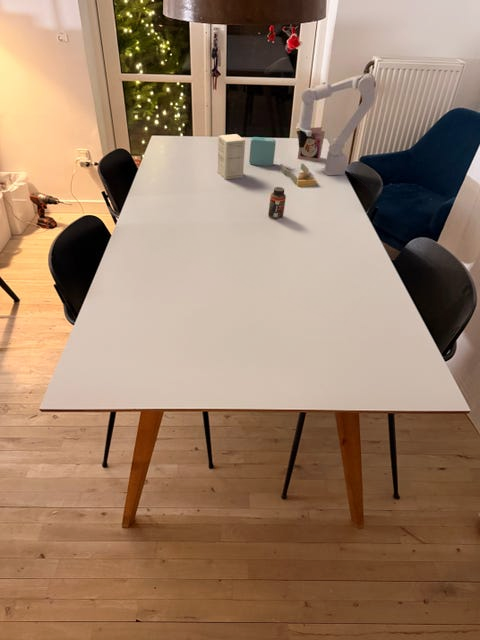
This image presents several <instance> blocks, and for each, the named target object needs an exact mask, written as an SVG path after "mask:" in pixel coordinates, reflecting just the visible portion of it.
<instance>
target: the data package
mask: <svg viewBox="0 0 480 640" xmlns="http://www.w3.org/2000/svg"><path fill="white" fill-rule="evenodd" d="M275 154H276V139H275V138H272V137H259V136H253V137H251V138H250V146H249V156H248V157H249V158H248V159H249V160H248V162H249V164H250V165H254V166H262V165H263V166H262V167H264V166H266V167H272V166H273V165H274V161H275Z"/></svg>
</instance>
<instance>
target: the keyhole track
mask: <svg viewBox="0 0 480 640" xmlns="http://www.w3.org/2000/svg"><path fill="white" fill-rule="evenodd" d="M300 170H301V171H302V172H304V173H308V174H310V180H299V179H298V177H297V176H296V174H295V173H294V172H293V171H292V170H288V169H287V168H286V167H285V165H284V164H282V163H280V164H279V171H280V172H281V173H282V174H283V175H284V176H285V177H288V178H289V179H290V180H291V181H292V182H293V183H294V184H295V186H296V187H309V186H310V187H312V186H315V187H316V186H317V185H316V184H317V179H316V177H314V176H313V175H312V174H311V173H310V172H309V168H308V166H307V165H305V164H304V163H301V164H300Z"/></svg>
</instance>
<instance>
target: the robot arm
mask: <svg viewBox="0 0 480 640" xmlns="http://www.w3.org/2000/svg"><path fill="white" fill-rule="evenodd" d="M376 87H377V82H376V79H375V76H374V74H372V73H370V72H368V73H367V72H366V73H364V74H360V75H355V76H352V77H351V76H350V77H348V78H345V79H343V80H340V81H337V82H334V83H330V82H326V81H323V82H322V83H321V84H318V85H313V86H311V87H308V88H306V89H305V90H304V91H303V92H302V94H301V106H300V113H299V119H298V120H299V121H298V122H297V123H296V126H295V129H296V134H297V141H298V148H299V147H300V148H304V146H305V143H306V141H307V139H308V137H309V136H311V135H312V132H311V128H312V127H311V126H312V119H313V114H314V106H315V101H320V100H323V99H326V98H330V97H331V96H332V94H334V93H336V92H339V91H342V90H346V89H349V88H351V89H353V90H358V91H359V93H360V95H361V101H362V102H361V103H360V104H359V106H358V107H357V109H356V110H355V112H354V113H353V114H352V116H351V117H350V119H349V120H348V121H347V123H346V124H345V125H344V127H343V129H342V130H341V131H340V133H339V134H338V135H337V136H336V137H334V138H333V139H332V140H331V143H330V144H329V145H328V151H327V155H326V161H325V165H324V168H321V170H322V172H324V174H325V175H326V176H341V175H343V176H345V175H346V173H345V172H346V167H347V163H348V155H347V154H346V153H343V149H344V147H345V144H346V142H347V141H348V140H349V138H350V137H351V136H352V134H353V133H354V131H355V130H356V129H357V128H358V126H359V124H360V123H361V122H362V121H363V119H364V117H365V116H366V115H367V113H368V112H369V111H370V109H371V108H372V106H374V105H373V104H374V103H375V98H376V97H375V96H376V89H377V88H376Z"/></svg>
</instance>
